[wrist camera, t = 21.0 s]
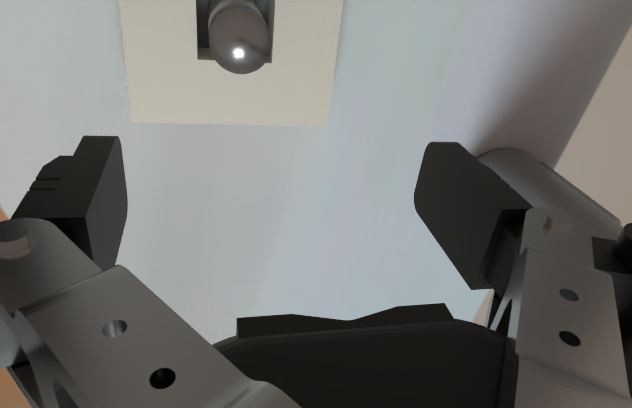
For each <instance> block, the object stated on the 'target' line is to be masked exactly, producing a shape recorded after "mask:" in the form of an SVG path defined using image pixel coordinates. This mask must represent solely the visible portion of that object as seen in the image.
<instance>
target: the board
mask: <svg viewBox="0 0 632 408" xmlns="http://www.w3.org/2000/svg"><path fill="white" fill-rule="evenodd" d="M343 1H344V0H269V7H268V28H269V30H270V33H271V37H272V49H271V53H270V56H269V58H268V60H267V61H266V63H265V64H264V65H263V66H262V67H261V68H259V69H258V70H256V71H254V72H252V73H248V74H235V73H232V72H229V71H227V70H225V69H224V68H222V67H221V66H220V65H219V64H218V63H217V62H216V61H215V59H214V57H213V56H212V53H211V51H210V48H200V47H198V39H197V1H196V0H119V9H120V18H121V28H122V37H123V46H124V55H125V64H126V74H127V83H128V92H129V101H130V111H131V120H132V122H148V123H196V124H245V125H293V126H327V125H328V118H329V110H330V102H331V94H332V87H333V79H334V71H335V63H336V56H337V48H338V40H339V32H340V24H341V17H342V9H343Z"/></svg>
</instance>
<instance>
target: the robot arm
mask: <svg viewBox="0 0 632 408" xmlns="http://www.w3.org/2000/svg"><path fill="white" fill-rule="evenodd" d="M29 189H30V191H28V192H27V193H26V195H25V196H24V198H23V200H22V201H21V203H20V204H19V206H18V208H17V209H16V211H15V212H14V214H13V216H12V217H11V219H10V220H5V221H2V222H0V369H1V368H5V367H6V369H7V370H8V372H9V374H10V375H11V377H12V378H13V380H14V381H15V383H16V384H17V386H18V387H19V389H20V390H21V392H22V393H23V395H24V396H25V398H26V399H27V401H28V402H29V404H30V405H31V407H32V408H632V223H629V224H627V225H625V227H623V226H621V222H620V220H619V219H618V218H617V217H615V216H614V215H613V214H612V213H610V212H609V211H608V210H606V209H605V208H603V207H602V206H601V205H600V204H598V203H597V202H595V201H594V200H592V199H591V198H590V197H589V196H587V195H586V194H585V193H583V192H582V191H581V190H579V189H578V188H577V187H575V186H574V185H573V184H571V183H570V182H569V181H567V180H566V179H565V178H563V177H562V176H561V175H559V174H558V173H557V172H555V171H554V170H553V169H551V168H550V167H549V166H547V165H546V164H540V163H539V162H537V161H536V160H535V159H533V158H532V157H531V156H529V155H528V154H526V153H525V152H523V151H520V150H516V149H500V150H494V151H491V152H489V153H486V154H484V155H482V156H480V157H478V158H477V159H476V158H475V157H474V156H472V155H471V154H470V153H469V152H468V151H467V150H466V149H465V148H464V147H463V146H462V145H460V144H459V143H457V142H430V143H429V144H428V145H427V147H426V149H425V152H424V156H423V160H422V164H421V168H420V172H419V176H418V180H417V184H416V188H415V192H414V205H415V209H416V211H417V213H418V215H419V216H420V218H421V219H422V220H423V222H424V223H425V225H426V226H427V228H428V229H429V230H430V232H431V233H432V235H433V236H434V238H435V239H436V240H437V242H438V243H439V245H440V246H441V247H442V249H443V250H444V252H445V253H446V255H447V256H448V257H449V259H450V260H451V262H452V263H453V265H454V266H455V267H456V269H457V270H458V272H459V273H460V275H461V276H462V277H463V279H464V280H465V282H466V283H467V285H468V286H469V287H470V289H471V290H477V289H492V288H493V289H494V292H493V294H492V297H491V299H490V302H489V306H488V310H487V315H486V320H485V324H484V326H481V325H478V324H475V323H472V322H468V321H463V320H459V319H454V318H453V316H452V315H451V313H450V312H449V310H448V308H447V307H446V305H445V303H439V304H425V305H411V306H397V307H394V308H391V309H388V310H384V311H381V312H378V313H375V314H371V315H368V316H365V317H362V318H358V319H355V320H348V321H347V320H337V319H329V318H320V317H312V316H304V315H296V314H286V315H272V316H258V317H244V318H237V332H236V336H233V337H230V338H227V339H224V340H222V341H220V342H217V343H215V344H213V345H211V344H210V343H209V342H208V341H206V340H205V339H204V338H203V337H202V336H201V335H200V334H199V333H198V332H197V331H195V330H194V329H193V328H192V327H191V326H190V325H189V324H188V323H187V322H185V321H184V320H183V319H182V318H181V317H180V316H179V315H178V314H177V313H175V312H174V311H173V310H172V309H171V308H170V307H169V306H168V305H167V304H166V303H164V302H163V301H162V300H161V299H160V298H159V297H158V296H157V295H156V294H154V293H153V292H152V291H151V290H150V289H149V288H148V287H147V286H146V285H144V284H143V283H142V282H141V281H140V280H139V279H138V278H137V277H136V276H135V275H133V274H132V273H131V272H130V271H129V270H128V269H127V268H125V267H124V266H122V265H115V263H116V259H117V255H118V251H119V247H120V242H121V238H122V234H123V230H124V226H125V222H126V218H127V207H128V202H127V189H126V181H125V173H124V165H123V157H122V149H121V143H120V139H119V137H118V136H83V138H82V140H81V142H80V143H79V145H78V147H77V149H76V151H75V153H74V155H73V156H59V157H57V158H55V159H54V160H52V161H51V162H49V163H48V164H46V165H44V166H43V167H42V169H41V171H40V172H39V174H38V175H37V177H36V181H34V182H33V183H32V185H31V187H30V188H29Z"/></svg>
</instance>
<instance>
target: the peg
mask: <svg viewBox="0 0 632 408" xmlns="http://www.w3.org/2000/svg"><path fill="white" fill-rule="evenodd" d="M208 29H209V47H210V51H211V53H212V56H213V57H214V59H215V61H216V62H217V63H218V64H219V65H220V66H221V67H222V68H224V69H225V70H227V71H229V72H232V73H235V74H248V73H252V72H254V71H256V70H258V69H259V68H261V67H262V66H263V65H264V64H265V63H266V61H267V60H268V58H269V56H270V53H271V49H272V37H271V33H270V30H269V28H268V26H267V24H266V22H265V20H264V19H263V17H262V15H261V13H260V11H259V9H258V7H257V5H256V3H255V1H254V0H210V2H209V5H208Z"/></svg>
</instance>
